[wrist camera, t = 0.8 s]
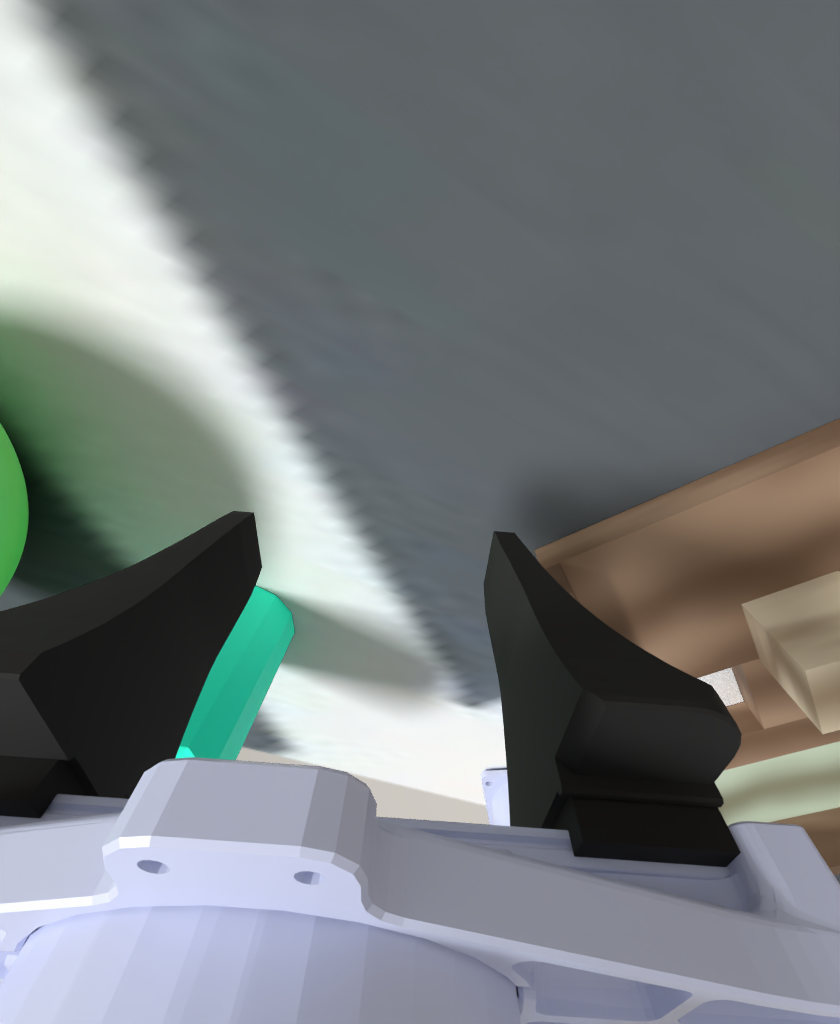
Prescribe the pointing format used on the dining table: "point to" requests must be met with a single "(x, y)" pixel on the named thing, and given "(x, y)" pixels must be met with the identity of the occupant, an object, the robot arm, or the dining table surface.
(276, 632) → the candle
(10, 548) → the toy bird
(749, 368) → the dining table surface
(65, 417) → the dining table surface
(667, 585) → the box
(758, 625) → the beech block
